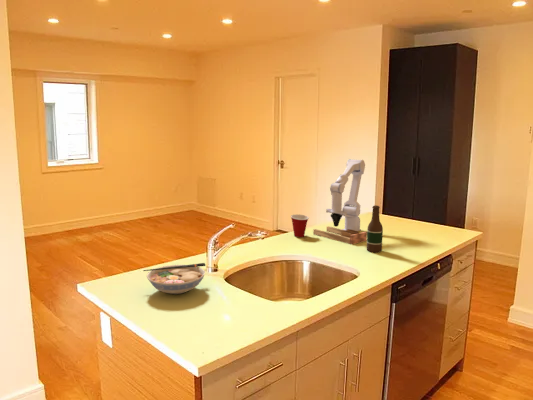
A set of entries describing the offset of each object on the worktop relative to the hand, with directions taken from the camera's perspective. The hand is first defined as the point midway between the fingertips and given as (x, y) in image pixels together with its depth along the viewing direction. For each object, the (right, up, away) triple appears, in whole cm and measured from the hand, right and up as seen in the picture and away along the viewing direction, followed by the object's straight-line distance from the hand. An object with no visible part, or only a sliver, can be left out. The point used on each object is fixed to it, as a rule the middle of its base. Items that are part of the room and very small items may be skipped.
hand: (336, 226), depth 268 cm
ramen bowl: (-77, -21, -86) cm, 117 cm away
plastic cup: (-21, -6, +2) cm, 22 cm away
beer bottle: (+15, -12, -28) cm, 34 cm away
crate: (+7, -8, -7) cm, 12 cm away
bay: (+1, -6, -1) cm, 7 cm away
